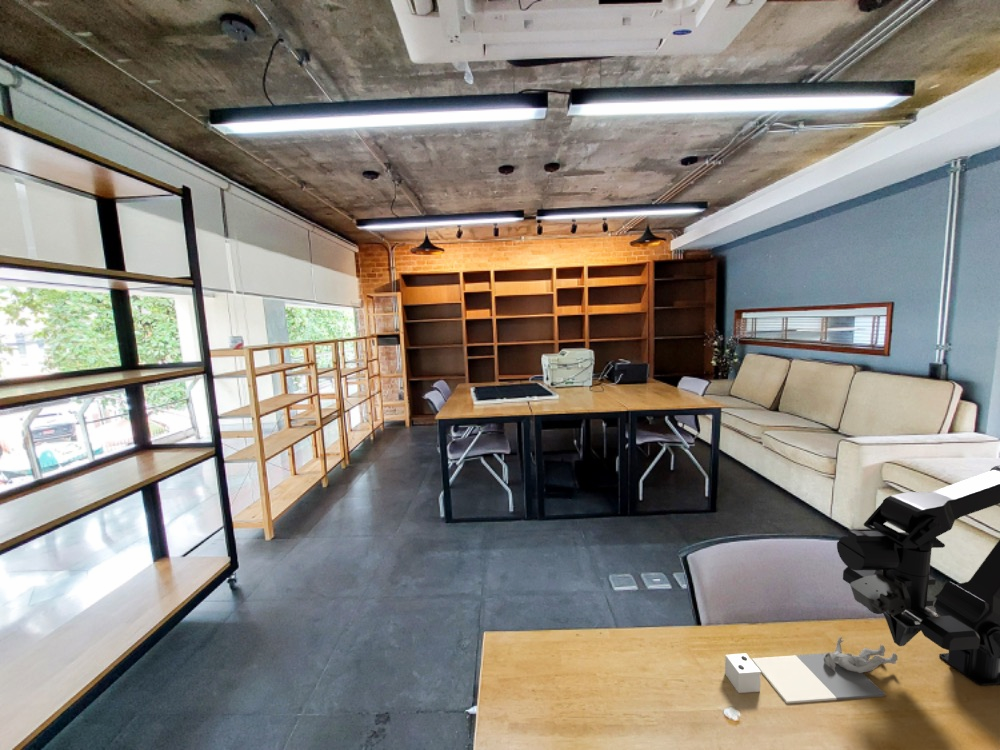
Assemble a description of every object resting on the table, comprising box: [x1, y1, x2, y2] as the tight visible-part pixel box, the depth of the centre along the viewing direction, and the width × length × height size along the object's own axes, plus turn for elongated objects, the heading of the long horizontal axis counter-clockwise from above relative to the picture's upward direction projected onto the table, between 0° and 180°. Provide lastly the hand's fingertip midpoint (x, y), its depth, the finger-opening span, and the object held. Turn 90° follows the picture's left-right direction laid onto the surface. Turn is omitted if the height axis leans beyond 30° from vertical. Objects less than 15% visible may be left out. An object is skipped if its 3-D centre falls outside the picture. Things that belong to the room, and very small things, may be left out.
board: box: [751, 652, 887, 704], centre depth 73 cm, size 18×9×1 cm, turn 92°
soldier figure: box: [824, 636, 898, 674], centre depth 74 cm, size 8×5×12 cm
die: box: [724, 652, 762, 694], centre depth 72 cm, size 4×4×4 cm
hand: (899, 644), depth 73 cm, fingers closed
